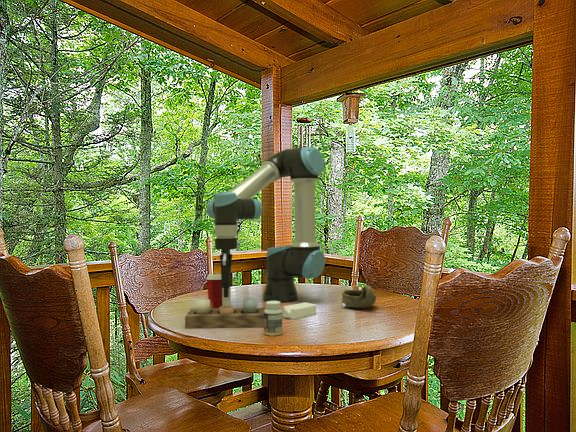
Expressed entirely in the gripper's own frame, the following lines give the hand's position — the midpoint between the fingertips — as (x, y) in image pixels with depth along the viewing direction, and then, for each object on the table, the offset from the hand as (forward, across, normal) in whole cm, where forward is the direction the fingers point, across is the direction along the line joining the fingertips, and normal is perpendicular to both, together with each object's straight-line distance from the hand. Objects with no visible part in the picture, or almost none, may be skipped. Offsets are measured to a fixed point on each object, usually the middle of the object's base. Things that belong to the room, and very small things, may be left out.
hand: (226, 306), depth 157 cm
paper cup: (+6, -20, -6) cm, 22 cm away
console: (+6, 0, 0) cm, 6 cm away
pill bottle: (+6, +14, +16) cm, 22 cm away
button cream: (+2, 0, -8) cm, 8 cm away
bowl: (+6, -21, +50) cm, 55 cm away
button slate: (+2, 0, +8) cm, 8 cm away
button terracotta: (+5, 0, 0) cm, 5 cm away
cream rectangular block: (+7, -10, +25) cm, 28 cm away
